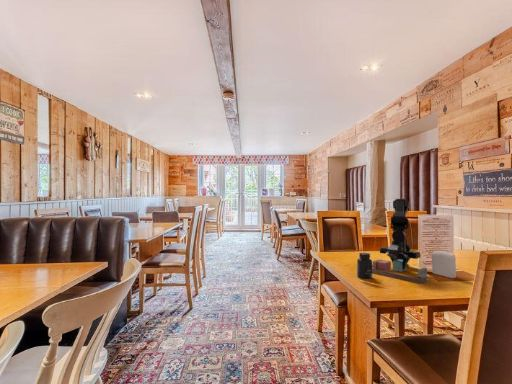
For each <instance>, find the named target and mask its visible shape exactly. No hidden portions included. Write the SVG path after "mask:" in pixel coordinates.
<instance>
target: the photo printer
mask: <svg viewBox="0 0 512 384" xmlns="http://www.w3.org/2000/svg"><path fill="white" fill-rule="evenodd" d="M456 259H457V257H456V255H455V254H453V253H451V252H449V251H445V250H435V251H432V254H431V268H432V269H431V271H432V274H435V275H438V276H442V277H446V278H449V279H450V278H451V279H456V277H457V267H456V266H457V265H456V264H457V263H456V262H457V261H456Z"/></svg>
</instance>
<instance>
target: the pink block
mask: <svg viewBox="0 0 512 384" xmlns="http://www.w3.org/2000/svg"><path fill="white" fill-rule="evenodd" d="M391 265H392V260H385V259H382V261H378V262H377V269H378V270H382V271H387V272H391V273H392V266H391Z"/></svg>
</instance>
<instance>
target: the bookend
mask: <svg viewBox="0 0 512 384" xmlns="http://www.w3.org/2000/svg"><path fill="white" fill-rule="evenodd" d="M417 278H419V279H423V284H425V283H427V282H429V281H430V279H429V278H428V268H427V267H421V268H419V269H417Z"/></svg>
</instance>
